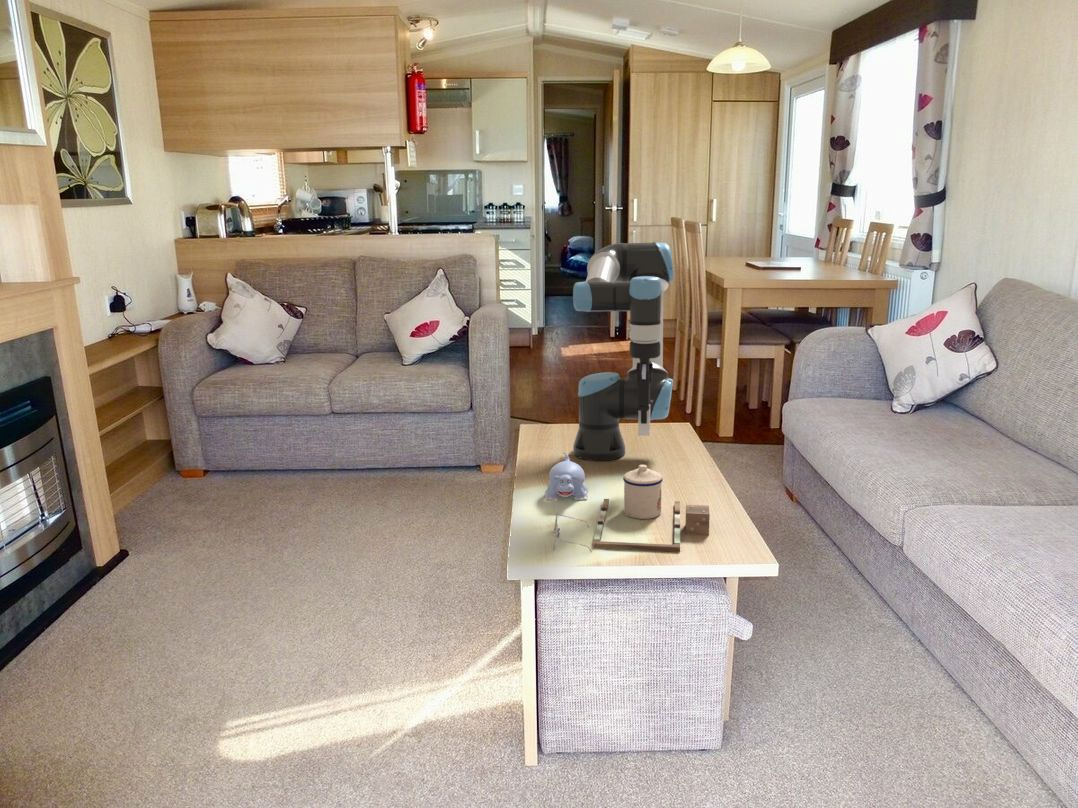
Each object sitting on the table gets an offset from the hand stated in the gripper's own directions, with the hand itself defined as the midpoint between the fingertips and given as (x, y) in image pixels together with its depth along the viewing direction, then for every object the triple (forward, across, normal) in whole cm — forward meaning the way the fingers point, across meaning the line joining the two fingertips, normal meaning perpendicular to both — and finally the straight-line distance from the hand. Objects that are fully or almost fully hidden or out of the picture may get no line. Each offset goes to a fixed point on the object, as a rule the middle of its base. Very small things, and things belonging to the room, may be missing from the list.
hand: (644, 431), depth 200 cm
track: (+15, +24, 0) cm, 29 cm away
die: (+15, +26, +13) cm, 33 cm away
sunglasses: (+15, +34, -14) cm, 40 cm away
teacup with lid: (+15, +16, 0) cm, 22 cm away
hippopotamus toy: (+15, +10, -19) cm, 26 cm away
